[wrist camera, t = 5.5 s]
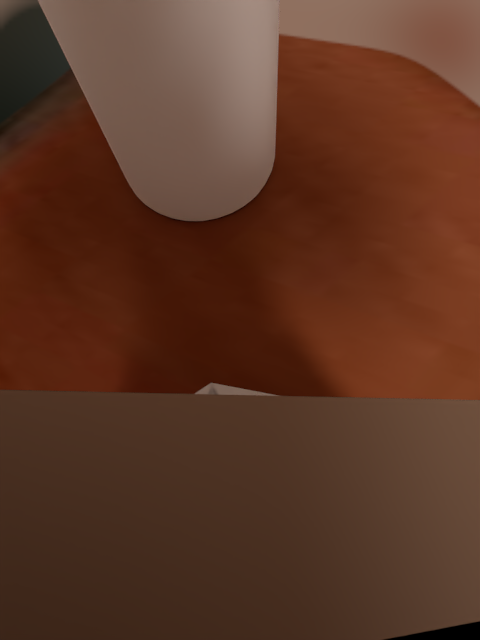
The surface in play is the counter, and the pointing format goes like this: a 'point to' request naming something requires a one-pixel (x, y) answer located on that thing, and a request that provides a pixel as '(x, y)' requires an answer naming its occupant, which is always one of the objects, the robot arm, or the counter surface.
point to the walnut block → (238, 517)
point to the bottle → (179, 94)
